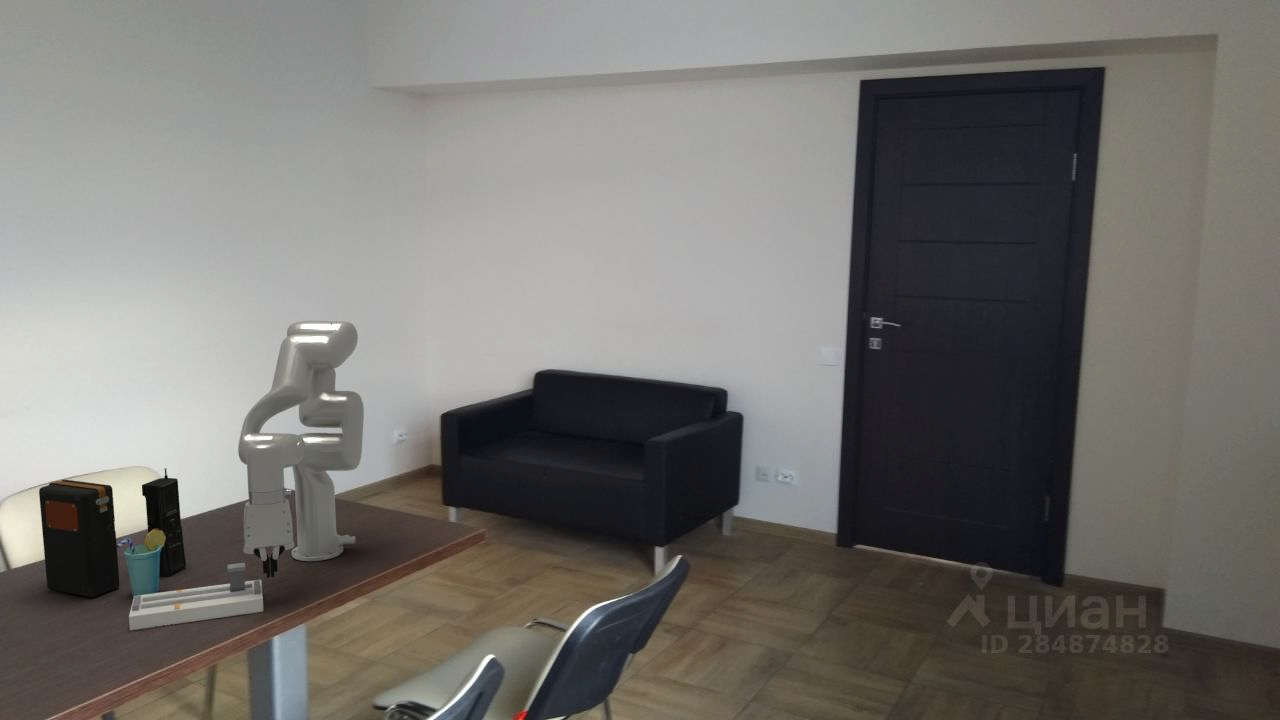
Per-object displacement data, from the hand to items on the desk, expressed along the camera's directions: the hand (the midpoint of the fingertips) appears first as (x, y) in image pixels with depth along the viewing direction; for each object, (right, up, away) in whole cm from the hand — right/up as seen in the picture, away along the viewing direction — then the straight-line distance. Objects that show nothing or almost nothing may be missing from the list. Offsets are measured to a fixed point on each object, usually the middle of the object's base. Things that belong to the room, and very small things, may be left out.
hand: (270, 575), depth 214 cm
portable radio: (-32, -3, +18) cm, 37 cm away
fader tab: (-6, -3, -2) cm, 7 cm away
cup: (-30, -6, +3) cm, 31 cm away
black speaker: (-46, -5, +7) cm, 47 cm away
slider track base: (-14, -7, -5) cm, 16 cm away
